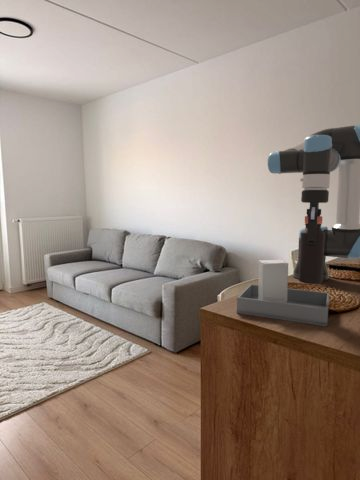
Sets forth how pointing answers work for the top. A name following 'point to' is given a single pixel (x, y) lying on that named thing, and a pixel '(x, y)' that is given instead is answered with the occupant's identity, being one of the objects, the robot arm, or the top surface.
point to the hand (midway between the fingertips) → (310, 266)
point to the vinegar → (312, 256)
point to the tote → (287, 306)
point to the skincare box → (273, 280)
